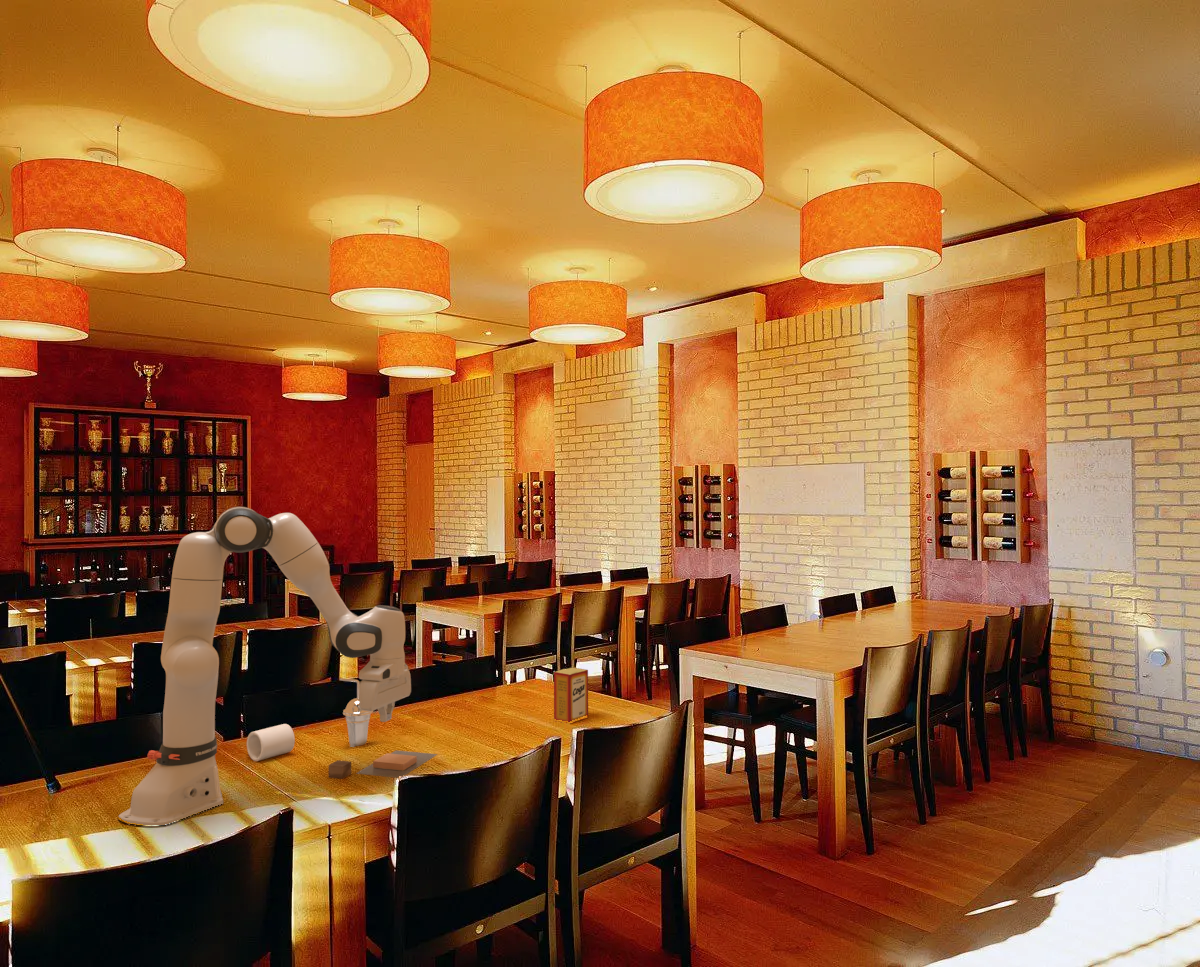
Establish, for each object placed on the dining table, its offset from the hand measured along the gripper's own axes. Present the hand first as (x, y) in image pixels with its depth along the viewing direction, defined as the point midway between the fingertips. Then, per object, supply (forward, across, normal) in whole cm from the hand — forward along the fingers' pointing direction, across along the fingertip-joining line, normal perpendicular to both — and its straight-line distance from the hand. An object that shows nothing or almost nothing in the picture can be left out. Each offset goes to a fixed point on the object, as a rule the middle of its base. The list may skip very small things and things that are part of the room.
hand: (385, 720), depth 213 cm
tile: (+12, -1, +1) cm, 12 cm away
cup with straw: (+14, -19, -20) cm, 31 cm away
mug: (+15, -5, -40) cm, 43 cm away
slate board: (+14, -6, +1) cm, 15 cm away
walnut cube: (+14, +7, -9) cm, 18 cm away
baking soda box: (+12, -63, +31) cm, 71 cm away
